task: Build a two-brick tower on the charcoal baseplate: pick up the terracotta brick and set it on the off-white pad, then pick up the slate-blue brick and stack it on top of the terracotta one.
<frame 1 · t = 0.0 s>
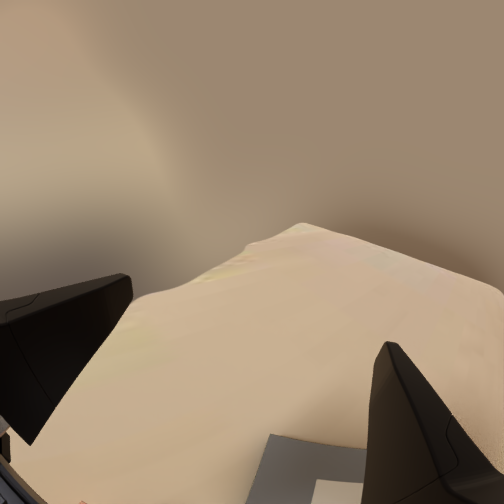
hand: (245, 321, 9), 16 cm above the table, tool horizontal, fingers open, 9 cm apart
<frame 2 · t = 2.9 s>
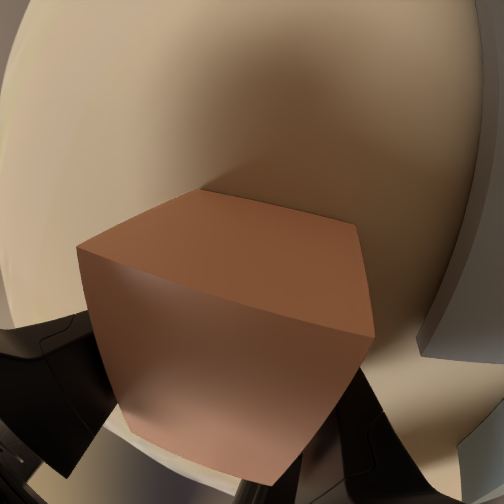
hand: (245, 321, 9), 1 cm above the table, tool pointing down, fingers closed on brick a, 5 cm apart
brick a: (255, 301, 10), on the table, touching gripper
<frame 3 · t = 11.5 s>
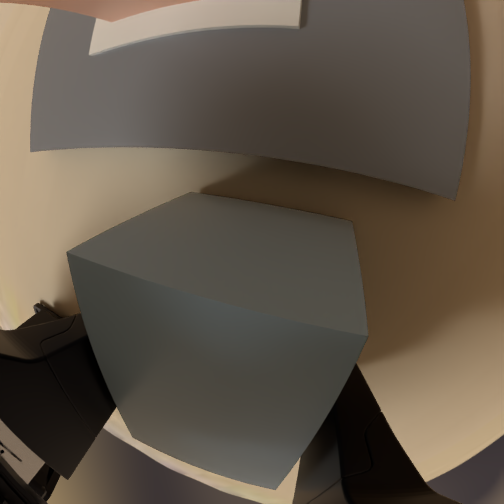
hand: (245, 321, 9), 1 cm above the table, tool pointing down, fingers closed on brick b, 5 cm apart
brick b: (254, 303, 10), on the table, touching gripper
when the fingers open (8 cm above the table, at t = 15.0 s): brick b stays where it is, resting on brick a.
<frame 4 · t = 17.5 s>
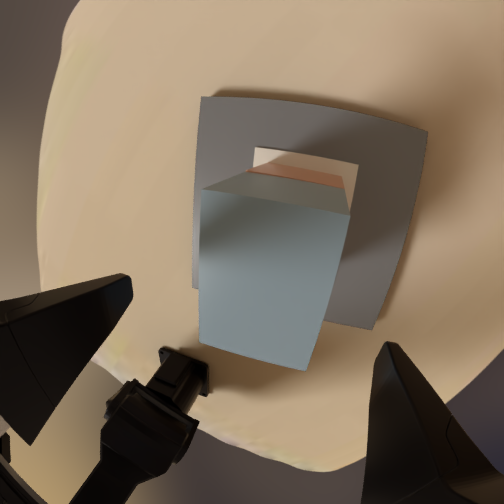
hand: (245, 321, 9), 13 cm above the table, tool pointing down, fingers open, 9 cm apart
baseplate: (298, 214, 20), on the table
brick b: (284, 244, 15), point 6 cm above the table, touching brick a
brick a: (296, 218, 19), point 1 cm above the table, touching baseplate, brick b
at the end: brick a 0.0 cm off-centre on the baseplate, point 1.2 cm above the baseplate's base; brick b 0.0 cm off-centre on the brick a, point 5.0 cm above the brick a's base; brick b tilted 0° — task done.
